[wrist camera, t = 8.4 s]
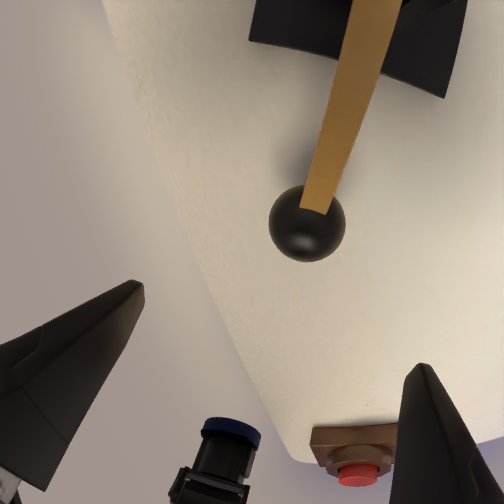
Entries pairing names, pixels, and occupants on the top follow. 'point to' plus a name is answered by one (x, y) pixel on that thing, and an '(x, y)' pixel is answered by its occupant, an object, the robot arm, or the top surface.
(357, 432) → the button block
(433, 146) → the top surface
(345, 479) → the button
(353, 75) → the lever
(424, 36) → the bracket
